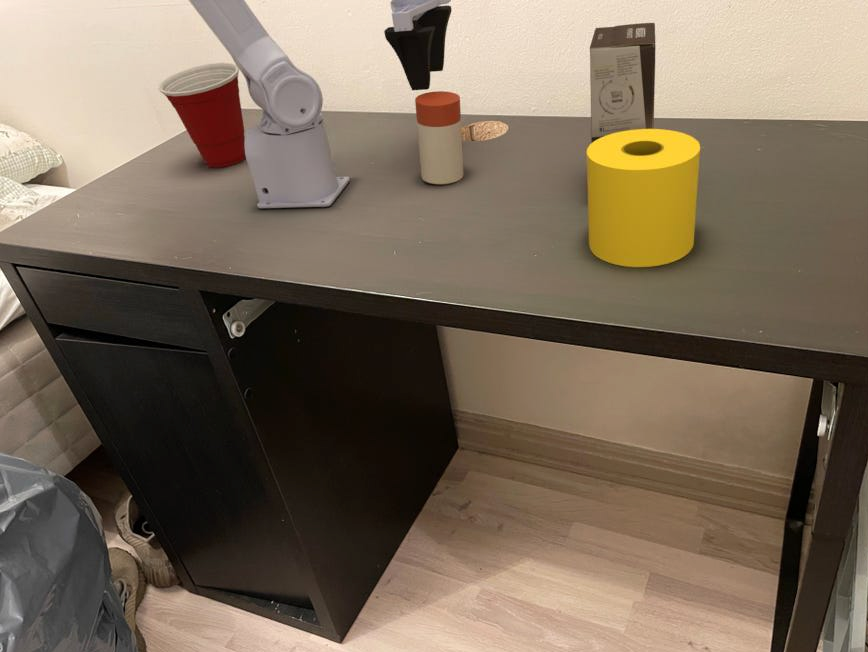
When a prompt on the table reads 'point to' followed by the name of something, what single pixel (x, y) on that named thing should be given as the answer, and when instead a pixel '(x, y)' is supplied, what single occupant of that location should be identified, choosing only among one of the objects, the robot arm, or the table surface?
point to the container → (439, 137)
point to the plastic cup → (210, 110)
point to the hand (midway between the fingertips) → (428, 79)
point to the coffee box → (622, 79)
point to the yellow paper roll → (642, 196)
